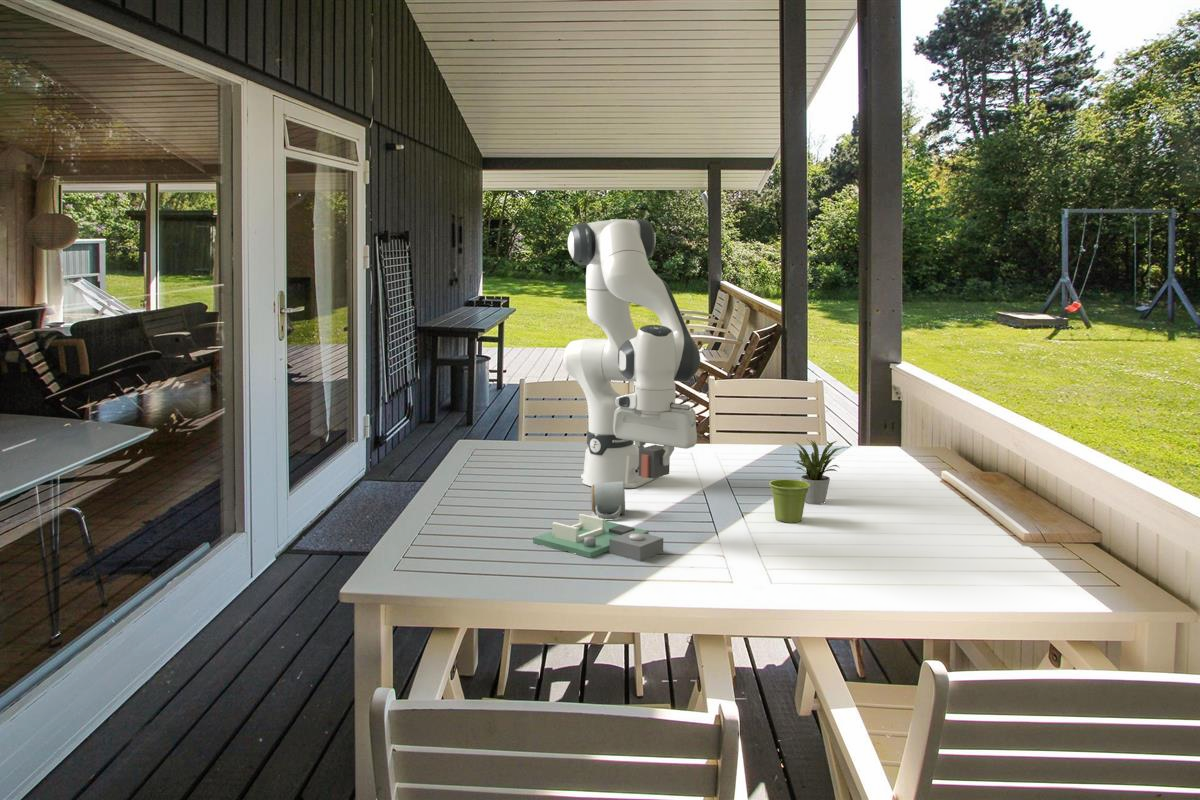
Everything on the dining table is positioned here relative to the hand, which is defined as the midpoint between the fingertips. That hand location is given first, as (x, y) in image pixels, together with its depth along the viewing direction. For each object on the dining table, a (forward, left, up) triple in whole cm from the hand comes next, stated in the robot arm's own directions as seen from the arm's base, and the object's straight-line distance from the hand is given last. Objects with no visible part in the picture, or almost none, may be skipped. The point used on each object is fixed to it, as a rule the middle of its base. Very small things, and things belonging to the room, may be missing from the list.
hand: (654, 463), depth 210 cm
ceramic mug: (-7, -18, -16) cm, 25 cm away
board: (+12, -8, -16) cm, 21 cm away
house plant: (-50, +15, -16) cm, 55 cm away
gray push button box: (+13, +5, -16) cm, 21 cm away
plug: (0, 0, -3) cm, 3 cm away
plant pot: (-30, +17, -16) cm, 38 cm away
